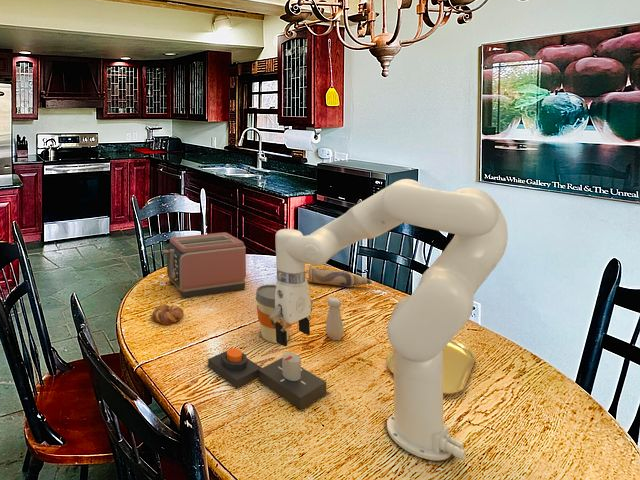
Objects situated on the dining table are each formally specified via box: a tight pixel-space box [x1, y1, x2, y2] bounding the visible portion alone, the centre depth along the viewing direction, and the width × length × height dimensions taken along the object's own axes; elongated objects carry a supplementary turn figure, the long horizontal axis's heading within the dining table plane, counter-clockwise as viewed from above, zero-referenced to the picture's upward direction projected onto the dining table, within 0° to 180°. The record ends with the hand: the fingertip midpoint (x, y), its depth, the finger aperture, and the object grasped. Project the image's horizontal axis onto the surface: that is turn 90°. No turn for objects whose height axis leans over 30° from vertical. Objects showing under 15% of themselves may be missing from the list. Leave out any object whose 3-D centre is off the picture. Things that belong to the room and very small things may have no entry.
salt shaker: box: [324, 296, 345, 341], centre depth 134 cm, size 6×6×13 cm
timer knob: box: [281, 351, 302, 381], centre depth 109 cm, size 5×5×5 cm
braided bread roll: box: [151, 304, 184, 326], centre depth 148 cm, size 12×11×4 cm
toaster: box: [162, 231, 247, 299], centre depth 177 cm, size 19×36×21 cm, turn 107°
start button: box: [226, 347, 243, 362], centre depth 116 cm, size 4×4×2 cm
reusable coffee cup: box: [255, 284, 293, 344], centre depth 135 cm, size 13×13×15 cm
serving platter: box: [385, 339, 476, 396], centre depth 119 cm, size 19×35×2 cm, turn 134°
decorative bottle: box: [308, 266, 372, 289], centre depth 177 cm, size 26×8×7 cm, turn 71°
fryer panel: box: [258, 357, 327, 410], centre depth 109 cm, size 14×11×3 cm
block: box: [207, 350, 262, 389], centre depth 116 cm, size 12×10×4 cm
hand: (293, 338), depth 109 cm, fingers open, 9 cm apart
